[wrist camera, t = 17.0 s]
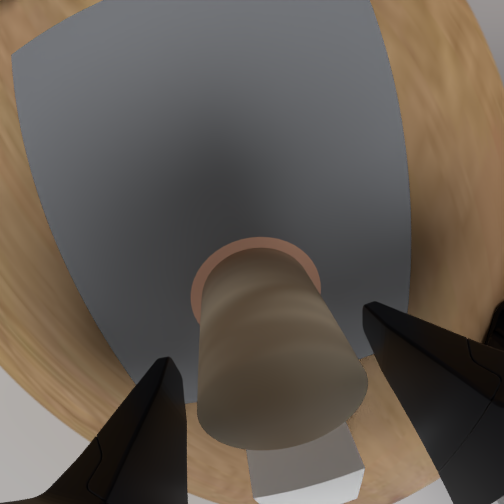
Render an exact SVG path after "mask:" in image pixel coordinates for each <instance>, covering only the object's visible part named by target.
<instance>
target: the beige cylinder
mask: <svg viewBox="0 0 504 504" xmlns="http://www.w3.org/2000/svg"><path fill="white" fill-rule="evenodd" d="M367 387H368V378H367V374H366V372H365V370H364V368H363V366H362V365H361V363H360V361H359V359H358V358H357V356H356V354H355V352H354V351H353V349H352V347H351V346H350V344H349V342H348V340H347V339H346V337H345V335H344V334H343V332H342V330H341V328H340V327H339V325H338V323H337V322H336V320H335V318H334V317H333V315H332V313H331V312H330V310H329V308H328V307H327V305H326V303H325V302H324V300H323V298H322V297H321V295H320V293H319V292H318V290H317V289H316V287H315V285H314V284H313V282H312V280H311V279H310V277H309V276H308V274H307V272H306V271H305V269H304V267H303V266H302V265H301V264H300V263H299V262H298V261H297V260H296V259H295V258H293V257H292V256H290V255H289V254H287V253H284V252H282V251H279V250H276V249H271V248H250V249H245V250H242V251H239V252H236V253H234V254H232V255H230V256H228V257H226V258H225V259H223V260H222V261H221V262H220V263H218V264H217V265H216V266H215V267H214V269H213V270H212V271H211V272H210V274H209V275H208V277H207V279H206V281H205V284H204V287H203V291H202V301H201V318H200V337H199V360H198V394H197V415H198V420H199V423H200V424H201V426H202V428H203V429H204V430H205V431H206V432H207V434H209V435H210V436H211V437H213V438H214V439H216V440H217V441H219V442H221V443H224V444H226V445H229V446H232V447H236V448H241V449H247V450H278V449H285V448H290V447H294V446H298V445H301V444H305V443H308V442H310V441H313V440H315V439H318V438H320V437H322V436H324V435H326V434H328V433H329V432H331V431H333V430H334V429H336V428H337V427H339V426H340V425H341V424H343V423H344V422H345V421H346V420H348V419H349V418H350V417H351V416H352V415H353V414H354V412H355V411H356V410H357V409H358V407H359V406H360V405H361V403H362V401H363V399H364V397H365V395H366V392H367Z"/></svg>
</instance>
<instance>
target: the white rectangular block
mask: <svg viewBox="0 0 504 504" xmlns="http://www.w3.org/2000/svg"><path fill="white" fill-rule="evenodd" d="M246 451H247V458H248V465H249V472H250V479H251V486H252V493H253V498H254V499H255V500H256V501H257V502H258V503H259V504H342V503H345V502H348V501H351V500H354V499H357V497H358V493H359V490H360V486H361V482H362V478H363V474H364V470H365V467H364V464H363V462H362V459H361V457H360V454H359V452H358V450H357V447H356V445H355V442H354V440H353V437H352V435H351V433H350V430H349V428H348V425H347V423H346V421H345V422H344V423H343V424H341V425H340V426H339V427H337V428H336V429H334V430H333V431H331V432H329V433H328V434H326V435H324V436H322V437H320V438H318V439H315V440H313V441H310V442H308V443H305V444H301V445H298V446H294V447H290V448H285V449H278V450H247V449H246Z"/></svg>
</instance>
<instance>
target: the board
mask: <svg viewBox="0 0 504 504" xmlns="http://www.w3.org/2000/svg"><path fill="white" fill-rule="evenodd" d="M11 56H12V71H13V81H14V90H15V97H16V104H17V110H18V116H19V122H20V127H21V132H22V137H23V141H24V146H25V150H26V154H27V158H28V162H29V165H30V169H31V173H32V176H33V179H34V183H35V186H36V189H37V192H38V195H39V198H40V201H41V204H42V207H43V210H44V213H45V216H46V218H47V221H48V224H49V226H50V229H51V231H52V234H53V236H54V239H55V241H56V244H57V246H58V248H59V251H60V253H61V255H62V258H63V260H64V262H65V264H66V266H67V269H68V271H69V273H70V275H71V277H72V279H73V281H74V283H75V285H76V287H77V289H78V291H79V293H80V295H81V297H82V299H83V301H84V303H85V304H86V306H87V308H88V310H89V312H90V314H91V315H92V317H93V319H94V321H95V322H96V324H97V326H98V327H99V329H100V331H101V333H102V334H103V336H104V337H105V339H106V341H107V342H108V344H109V346H110V347H111V349H112V350H113V352H114V353H115V355H116V356H117V358H118V359H119V361H120V362H121V364H122V365H123V367H124V368H125V370H126V371H127V373H128V374H129V376H130V377H131V378H132V380H133V381H134V383H135V384H136V385H137V383H138V382H139V381H140V380H141V378H142V377H143V376H144V375H145V373H146V372H147V371H148V370H149V368H150V367H151V366H152V365H153V363H154V362H155V361H156V360H157V359H158V358H162V357H167V356H169V357H171V358H172V359H173V361H174V363H175V364H176V366H177V368H178V370H179V371H180V373H181V375H182V379H183V388H184V399H185V404H186V403H193V402H197V394H198V360H199V337H200V318H201V301H202V291H203V287H204V284H205V281H206V279H207V277H208V275H209V274H210V272H211V271H212V270H213V269H214V267H215V266H216V265H217V264H218V263H220V262H221V261H222V260H223V259H225V258H226V257H228V256H230V255H232V254H234V253H236V252H239V251H242V250H245V249H250V248H271V249H276V250H279V251H282V252H284V253H287V254H289V255H290V256H292V257H293V258H295V259H296V260H297V261H298V262H299V263H300V264H301V265H302V266H303V267H304V269H305V271H306V272H307V274H308V276H309V277H310V279H311V280H312V282H313V284H314V285H315V287H316V289H317V290H318V292H319V293H320V295H321V297H322V298H323V300H324V302H325V303H326V305H327V307H328V308H329V310H330V312H331V313H332V315H333V317H334V318H335V320H336V322H337V323H338V325H339V327H340V328H341V330H342V332H343V334H344V335H345V337H346V339H347V340H348V342H349V344H350V346H351V347H352V349H353V351H354V352H355V354H356V356H357V358H358V359H361V358H364V357H367V356H369V355H372V354H374V353H373V350H372V348H371V346H370V344H369V342H368V340H367V337H366V335H365V333H364V330H363V323H362V308H363V305H364V304H367V303H370V302H372V301H377V302H380V303H382V304H385V305H387V306H389V307H392V308H394V309H397V310H399V311H402V312H404V313H407V312H408V301H409V288H410V269H411V207H410V189H409V175H408V165H407V155H406V147H405V139H404V132H403V126H402V119H401V114H400V108H399V103H398V98H397V93H396V88H395V83H394V79H393V75H392V71H391V67H390V63H389V59H388V55H387V52H386V48H385V45H384V41H383V38H382V35H381V32H380V28H379V25H378V22H377V19H376V17H375V14H374V11H373V8H372V5H371V3H370V0H103V1H101V2H99V3H96V4H94V5H92V6H90V7H88V8H86V9H84V10H82V11H80V12H78V13H76V14H74V15H72V16H71V17H69V18H67V19H65V20H63V21H62V22H60V23H58V24H56V25H55V26H53V27H51V28H50V29H48V30H47V31H45V32H43V33H42V34H40V35H39V36H37V37H36V38H34V39H33V40H31V41H30V42H28V43H27V44H26V45H24V46H23V47H21V48H20V49H19V50H17V51H16V52H15V53H13V54H12V55H11Z"/></svg>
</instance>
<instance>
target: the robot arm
mask: <svg viewBox="0 0 504 504" xmlns="http://www.w3.org/2000/svg"><path fill="white" fill-rule="evenodd" d="M362 323H363V330H364V333H365V335H366V337H367V340H368V342H369V344H370V346H371V348H372V350H373V353H374V355H375V357H376V359H377V362H378V364H379V366H380V368H381V370H382V372H383V374H384V376H385V377H386V379H387V381H388V383H389V384H390V386H391V388H392V389H393V391H394V393H395V394H396V396H397V398H398V400H399V401H400V403H401V405H402V407H403V408H404V410H405V412H406V414H407V415H408V417H409V419H410V421H411V422H412V424H413V426H414V428H415V430H416V432H417V433H418V435H419V437H420V439H421V441H422V443H423V444H424V446H425V448H426V450H427V452H428V454H429V456H430V457H431V459H432V461H433V463H434V465H435V467H436V469H437V471H438V473H439V475H440V477H441V479H442V481H443V483H444V485H445V487H446V489H447V491H448V493H449V495H450V497H451V500H452V501H453V504H491V503H493V502H495V501H496V500H497V501H498V503H499V504H504V303H503V304H501V305H500V306H499V307H498V308H497V310H496V312H495V315H494V319H493V322H492V325H491V328H490V331H489V334H488V337H487V340H486V343H485V345H484V344H481V343H479V342H476V341H474V340H471V339H469V338H468V339H467V338H466V337H464V336H461V335H459V334H456V333H454V332H451V331H449V330H446V329H444V328H441V327H439V326H436V325H434V324H432V323H429V322H427V321H424V320H422V319H419V318H417V317H414V316H412V315H409V314H407V313H404V312H402V311H399V310H397V309H394V308H392V307H389V306H387V305H385V304H382V303H380V302H377V301H372V302H370V303H367V304H364V305H363V308H362ZM0 504H188V495H187V419H186V409H185V399H184V388H183V379H182V375H181V373H180V371H179V370H178V368H177V366H176V364H175V363H174V361H173V359H172V358H171V357H169V356H167V357H162V358H158V359H157V360H156V361H155V362H154V363H153V365H152V366H151V367H150V368H149V370H148V371H147V372H146V373H145V375H144V376H143V377H142V378H141V380H140V381H139V382H138V383H137V385H136V386H135V387H134V388H133V390H132V391H131V392H130V393H129V395H128V396H127V397H126V399H125V400H124V401H123V402H122V404H121V405H120V406H119V407H118V409H117V410H116V411H115V412H114V414H113V415H112V416H111V418H110V419H109V420H108V421H107V423H106V424H105V425H104V426H103V428H102V429H101V430H100V431H99V433H98V434H97V437H95V438H94V439H93V440H92V442H91V443H90V444H89V445H88V447H87V448H86V449H85V450H84V451H83V453H82V454H81V455H80V456H79V457H78V458H77V460H76V461H75V462H74V463H73V464H72V465H71V466H70V467H69V468H68V469H67V470H66V471H65V472H64V473H63V474H62V475H61V477H59V479H58V480H57V481H56V482H55V483H54V484H53V485H52V486H51V487H50V488H49V489H48V490H47V491H46V492H44V493H43V494H41V495H39V496H37V497H34V498H30V499H25V500H19V501H12V502H4V503H0Z"/></svg>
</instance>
